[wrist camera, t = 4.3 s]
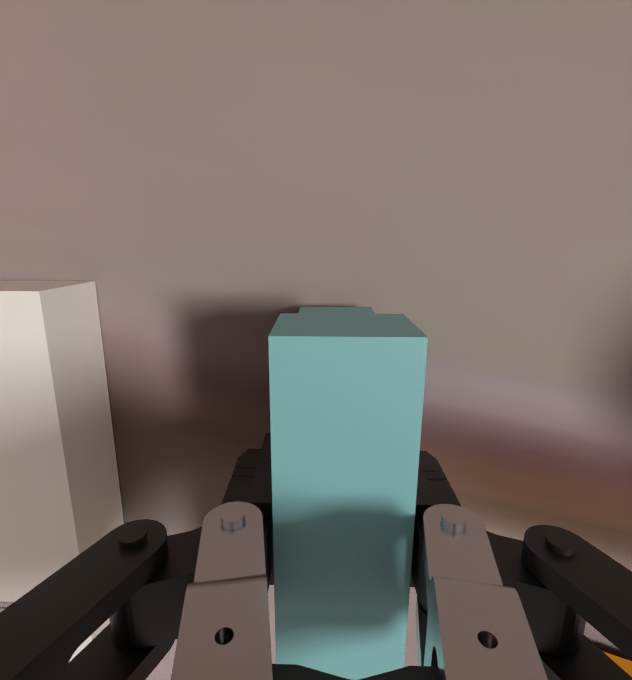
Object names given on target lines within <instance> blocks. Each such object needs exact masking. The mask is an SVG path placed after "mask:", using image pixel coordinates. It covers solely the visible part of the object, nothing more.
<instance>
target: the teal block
mask: <svg viewBox="0 0 632 680" xmlns="http://www.w3.org/2000/svg"><path fill="white" fill-rule="evenodd" d="M268 342H269V384H270V427H271V469H272V511H273V553H274V595H275V638H276V664H297V665H301V666H304V667H308V668H311V669H315V670H318V671H322V672H325V673H329V674H332V675H336V676H339V677H343V678H346V679H350V680H359V679H363V678H367V677H370V676H374V675H378V674H382V673H385V672H389V671H393V670H396V669H400V668H404V660H405V646H406V632H407V618H408V605H409V591H410V577H411V563H412V549H413V536H414V522H415V508H416V494H417V481H418V467H419V453H420V439H421V425H422V412H423V398H424V384H425V370H426V356H427V343H428V337H427V336H426V335H425V334H424V333H423V332H422V331H421V330H420V329H418V328H417V327H416V326H415V325H414V324H413V323H412V322H411V321H410V320H409V319H408V318H407V317H406V316H405V315H404V314H375V312H374V311H373V310H372V308H371V307H300V310H299V313H280V315H279V317H278V319H277V321H276V323H275V324H274V326H273V328H272V330H271V332H270V334H269V336H268Z"/></svg>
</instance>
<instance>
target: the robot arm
mask: <svg viewBox="0 0 632 680" xmlns="http://www.w3.org/2000/svg"><path fill="white" fill-rule="evenodd" d="M269 585H274V553H273V511H272V469H271V433H266V435H265V439H264V442H263V446H262V449H248V450H247V451H246V452H244V453H243V454H242V455H241V456H240V457H239V458H238V461H237V463H236V466H235V470H234V471H233V474H232V478H231V480H230V482H229V485H228V488H227V490H226V493H225V496H224V498H223V501H222V504H221V505H219V506H217V507H215V508H214V509H212V510H211V511H210V512H209V513H208V514H207V515H206V516H205V518H204V520H203V525H202V527H200V528H198V529H195V530H192V531H188V532H184V533H179V534H175V535H170V536H167V531H166V528H165V527H164V525H163V524H161V523H160V522H158V521H155V520H148V519H143V520H136V521H131V522H128V523H125V524H123V525H120V526H119V527H117V528H115V529H113V530H112V531H110V532H109V533H108V534H106V535H105V536H104V537H102V538H101V539H100V540H98V541H97V542H95V543H94V544H93V545H91V546H90V547H89V548H87V549H86V550H85V551H83V552H82V553H80V554H79V555H78V556H76V557H75V558H74V559H72V560H71V561H70V562H68V563H67V564H66V565H64V566H63V567H61V568H60V569H59V570H57V571H56V572H55V573H53V574H52V575H51V576H49V577H48V578H46V579H45V580H44V581H42V582H41V583H40V584H38V585H37V586H36V587H34V588H33V589H32V590H30V591H29V592H27V593H26V594H25V595H23V596H22V597H21V598H19V599H18V600H17V601H15V602H14V603H12V604H11V605H10V606H8V607H7V608H6V609H4V610H3V611H2V612H0V680H145V679H146V678H147V677H148V676H149V674H150V673H151V672H152V671H153V670H154V668H155V667H156V666H157V665H158V664H159V662H160V661H161V660H162V659H163V658H164V656H165V655H166V654H167V653H168V651H169V650H170V649H171V647H172V645H173V643H174V641H175V639H178V640H177V646H176V652H175V658H174V663H173V669H172V675H171V680H350V679H346V678H343V677H339V676H336V675H332V674H329V673H325V672H322V671H318V670H315V669H311V668H308V667H304V666H301V665H297V664H272V658H271V641H270V624H269V607H268V589H269ZM410 587H415V589H416V593H417V603H416V625H417V643H418V661H419V666H407V667H404V668H400V669H396V670H393V671H389V672H385V673H382V674H378V675H374V676H370V677H367V678H363V679H359V680H632V677H631V676H630V675H629V674H628V673H626V672H625V671H624V670H623V669H622V668H621V667H620V666H619V665H617V664H616V663H615V662H614V661H613V660H612V659H611V658H609V657H608V656H607V655H606V654H605V653H604V652H603V651H602V650H600V649H599V648H598V647H597V646H596V645H595V644H594V643H593V642H591V641H590V640H589V639H588V638H587V637H586V636H585V635H583V634H584V629H585V624H586V621H587V622H588V623H589V624H590V625H592V626H593V627H594V628H595V629H596V630H597V631H599V632H600V633H601V634H602V635H603V636H605V637H606V638H607V639H608V640H609V641H610V642H612V643H613V644H614V645H615V646H616V647H617V648H619V649H620V650H621V651H622V652H623V653H625V654H626V655H627V656H628V657H629V658H630V659H631V661H632V572H631V571H630V570H628V569H627V568H625V567H624V566H622V565H621V564H620V563H618V562H617V561H615V560H614V559H612V558H611V557H609V556H608V555H606V554H605V553H603V552H602V551H600V550H599V549H597V548H596V547H594V546H593V545H591V544H590V543H588V542H587V541H585V540H584V539H582V538H581V537H579V536H578V535H576V534H574V533H572V532H570V531H568V530H565V529H562V528H559V527H555V526H550V525H536V526H532V527H530V528H529V529H527V530H526V532H525V535H524V541H521V540H517V539H512V538H508V537H504V536H500V535H496V534H493V533H490V532H488V531H486V529H485V526H484V523H483V522H482V520H481V519H480V518H479V517H478V516H477V515H476V514H475V513H473V512H471V511H470V510H468V509H466V508H463V507H461V505H460V503H459V501H458V499H457V497H456V495H455V493H454V491H453V489H452V488H451V486H450V484H449V482H448V481H447V478H446V476H445V474H444V472H442V468H441V466H440V464H439V463H438V461H437V459H435V458H434V457H433V456H432V455H430V454H429V453H428V452H427V451H420V453H419V467H418V481H417V494H416V508H415V522H414V536H413V549H412V563H411V577H410ZM108 618H109V621H110V624H108V625H107V626H106V627H105V628H104V629H103V630H102V631H101V632H100V633H99V634H98V635H97V636H96V637H95V638H94V639H93V640H92V641H91V642H90V643H89V644H88V645H87V646H86V647H85V648H84V649H82V650H81V651H80V652H79V653H78V654H77V655H76V656H75V657H74V658H73V659H72V660H71V661H70V659H71V657H72V655H73V654H74V652H75V651H76V650H77V648H78V647H79V646H80V645H81V644H82V643H83V642H84V641H85V640H86V639H87V638H88V637H89V636H91V635H92V634H93V633H94V632H95V631H96V630H97V629H98V628H99V627H100V626H101V625H102V624H103V623H104V622H105V621H106V620H107V619H108ZM69 661H70V662H69Z"/></svg>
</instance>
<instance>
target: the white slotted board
mask: <svg viewBox="0 0 632 680" xmlns="http://www.w3.org/2000/svg"><path fill="white" fill-rule="evenodd" d="M123 524H124V519H123V511H122V503H121V494H120V486H119V478H118V469H117V461H116V453H115V444H114V436H113V428H112V419H111V411H110V403H109V394H108V386H107V378H106V369H105V361H104V353H103V344H102V336H101V328H100V319H99V311H98V303H97V294H96V286H95V281H0V601H9V602H13V603H14V602H15V601H17V600H18V599H19V598H21V597H22V596H23V595H25V594H26V593H27V592H29V591H30V590H32V589H33V588H34V587H36V586H37V585H38V584H40V583H41V582H42V581H44V580H45V579H46V578H48V577H49V576H51V575H52V574H53V573H55V572H56V571H57V570H59V569H60V568H61V567H63V566H64V565H66V564H67V563H68V562H70V561H71V560H72V559H74V558H75V557H76V556H78V555H79V554H80V553H82V552H83V551H85V550H86V549H87V548H89V547H90V546H91V545H93V544H94V543H95V542H97V541H98V540H100V539H101V538H102V537H104V536H105V535H106V534H108V533H109V532H110V531H112V530H113V529H115V528H117V527H119V526H120V525H123ZM4 609H6V608H0V612H2V611H3V610H4ZM108 624H110V621H109V618H108V619H107V620H106V621H105V622H104V623H103V624H102V625H101V626H100V627H99V628H98V629H97V630H96V631H95V632H94V633H93V634H92V635H91V636H89V637H88V638H87V639H86V640H85V641H84V642H83V643H82V644H81V645H80V646H79V647H78V648H77V650H76V651H75V652H74V654H73V655H72V657H71V659H70V661H71V660H72V659H73V658H74V657H75V656H76V655H77V654H78V653H79V652H80V651H81V650H82V649H84V648H85V647H86V646H87V645H88V644H89V643H90V642H91V641H92V640H93V639H94V638H95V637H96V636H97V635H98V634H99V633H100V632H101V631H102V630H103V629H104V628H105V627H106V626H107V625H108ZM70 661H69V662H70Z"/></svg>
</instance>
